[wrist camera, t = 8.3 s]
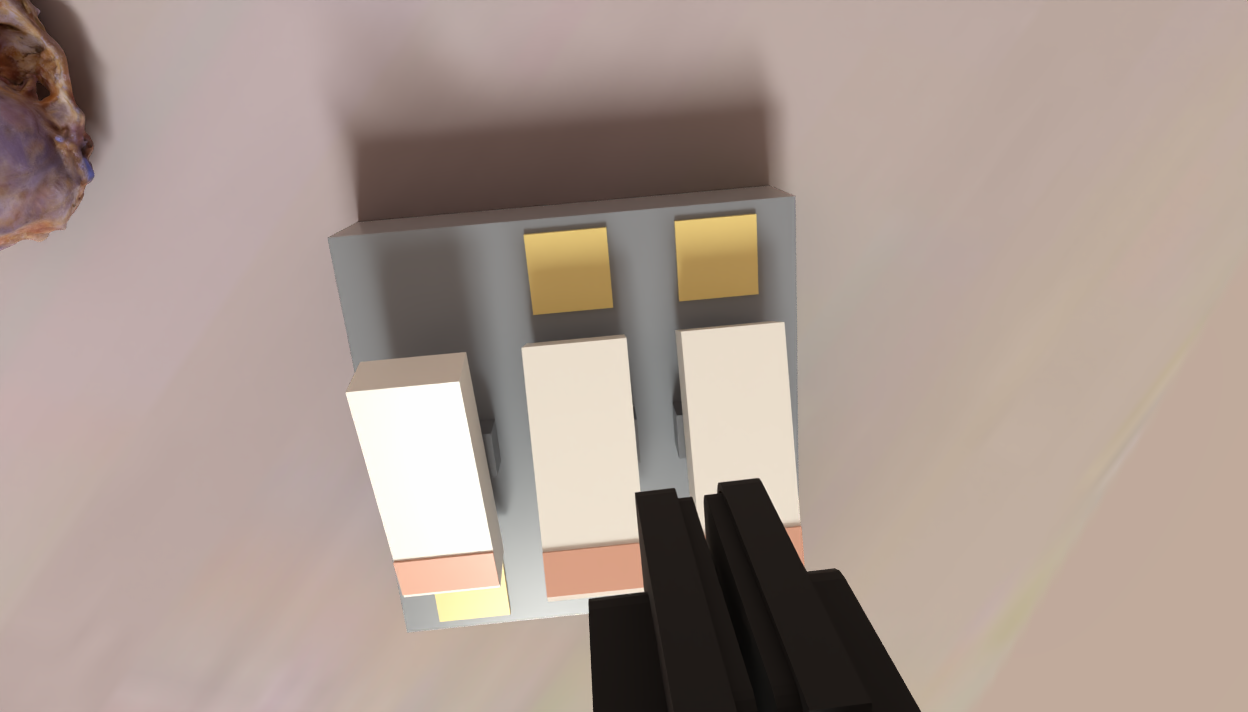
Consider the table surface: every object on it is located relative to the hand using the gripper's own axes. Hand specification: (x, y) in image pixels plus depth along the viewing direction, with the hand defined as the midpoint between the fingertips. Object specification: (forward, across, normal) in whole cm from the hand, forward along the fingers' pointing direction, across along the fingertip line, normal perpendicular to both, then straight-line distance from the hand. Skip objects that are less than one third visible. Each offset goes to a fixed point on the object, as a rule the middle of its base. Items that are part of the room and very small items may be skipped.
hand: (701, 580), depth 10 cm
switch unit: (+23, +2, +7) cm, 24 cm away
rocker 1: (+16, +7, +6) cm, 19 cm away
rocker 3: (+16, -4, +6) cm, 18 cm away
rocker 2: (+16, +2, +6) cm, 17 cm away
